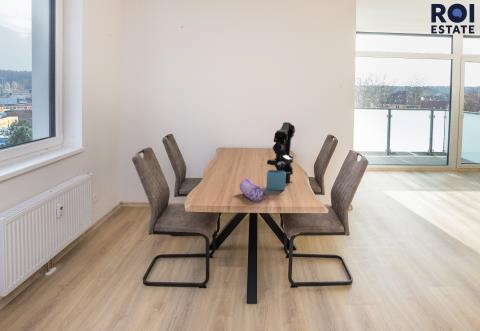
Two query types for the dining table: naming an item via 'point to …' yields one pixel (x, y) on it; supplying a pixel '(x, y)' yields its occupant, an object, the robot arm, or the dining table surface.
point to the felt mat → (269, 191)
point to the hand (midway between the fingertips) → (279, 174)
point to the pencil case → (251, 190)
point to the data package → (276, 180)
